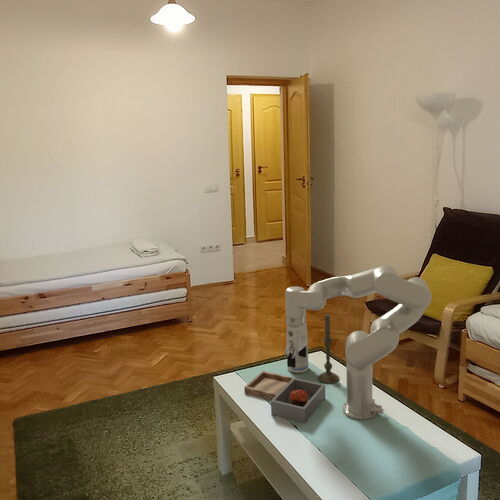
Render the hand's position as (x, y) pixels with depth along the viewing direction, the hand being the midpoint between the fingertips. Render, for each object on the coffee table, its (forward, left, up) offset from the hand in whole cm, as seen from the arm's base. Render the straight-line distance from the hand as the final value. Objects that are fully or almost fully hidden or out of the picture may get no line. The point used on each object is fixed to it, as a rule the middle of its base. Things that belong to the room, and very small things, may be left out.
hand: (297, 361), depth 185 cm
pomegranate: (0, 0, -19) cm, 19 cm away
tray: (+17, -8, -19) cm, 27 cm away
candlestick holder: (-2, -26, -19) cm, 32 cm away
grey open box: (0, 0, -19) cm, 19 cm away
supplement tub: (+14, -29, -19) cm, 38 cm away
